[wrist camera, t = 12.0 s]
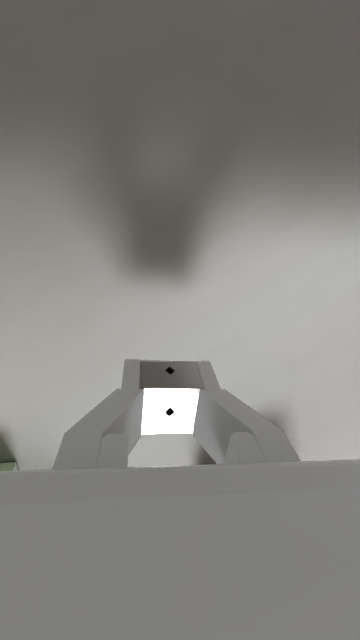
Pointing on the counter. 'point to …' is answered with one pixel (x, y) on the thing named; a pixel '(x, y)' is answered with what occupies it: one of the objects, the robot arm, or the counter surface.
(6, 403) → the counter surface
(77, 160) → the counter surface
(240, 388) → the counter surface
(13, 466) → the corral
